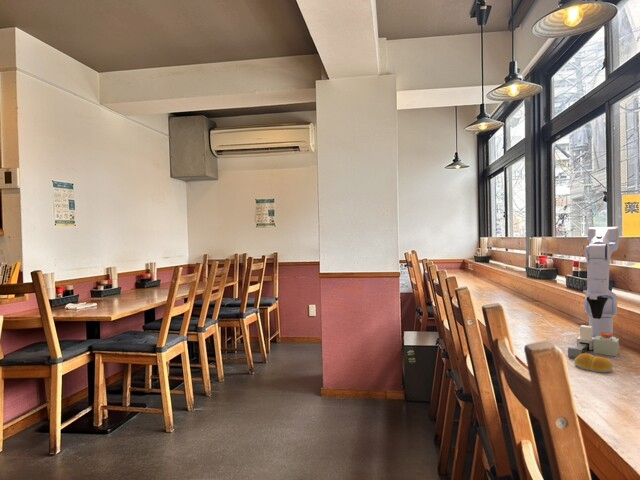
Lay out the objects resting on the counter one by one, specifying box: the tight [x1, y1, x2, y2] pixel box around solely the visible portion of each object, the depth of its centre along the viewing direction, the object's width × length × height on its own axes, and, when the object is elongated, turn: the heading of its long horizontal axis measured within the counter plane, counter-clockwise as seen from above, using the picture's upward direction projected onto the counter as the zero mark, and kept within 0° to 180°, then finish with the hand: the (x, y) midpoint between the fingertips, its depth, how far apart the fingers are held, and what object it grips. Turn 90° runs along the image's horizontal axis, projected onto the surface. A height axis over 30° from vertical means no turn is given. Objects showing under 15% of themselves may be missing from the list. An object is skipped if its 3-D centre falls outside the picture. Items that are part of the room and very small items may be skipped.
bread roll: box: [573, 352, 614, 373], centre depth 116 cm, size 8×9×4 cm
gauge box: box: [593, 336, 620, 357], centre depth 132 cm, size 6×6×4 cm
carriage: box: [576, 324, 594, 351], centre depth 138 cm, size 6×4×7 cm
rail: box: [567, 336, 595, 359], centre depth 134 cm, size 24×4×3 cm, turn 137°
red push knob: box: [600, 332, 614, 340], centre depth 132 cm, size 3×3×5 cm
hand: (596, 318), depth 139 cm, fingers closed
